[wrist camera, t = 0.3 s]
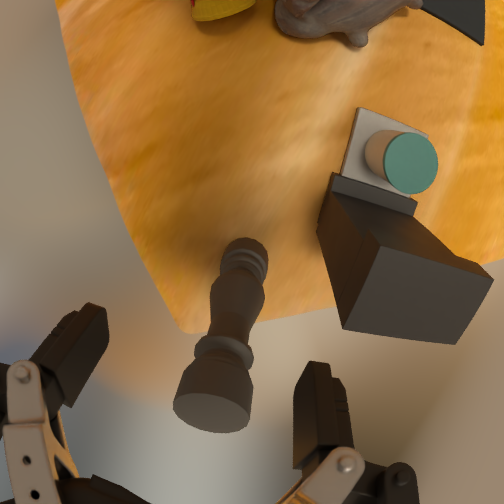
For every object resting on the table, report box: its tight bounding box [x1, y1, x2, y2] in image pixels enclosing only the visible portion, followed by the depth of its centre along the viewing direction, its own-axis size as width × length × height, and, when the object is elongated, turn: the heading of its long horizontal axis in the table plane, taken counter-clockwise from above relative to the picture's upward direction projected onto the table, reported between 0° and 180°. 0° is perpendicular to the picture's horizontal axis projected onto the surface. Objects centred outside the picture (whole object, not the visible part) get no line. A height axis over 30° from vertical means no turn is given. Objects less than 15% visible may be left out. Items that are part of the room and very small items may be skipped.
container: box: [365, 130, 438, 194], centre depth 28 cm, size 6×6×8 cm
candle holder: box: [173, 238, 268, 433], centre depth 30 cm, size 6×6×25 cm
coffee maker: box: [316, 107, 494, 345], centre depth 26 cm, size 17×12×20 cm
